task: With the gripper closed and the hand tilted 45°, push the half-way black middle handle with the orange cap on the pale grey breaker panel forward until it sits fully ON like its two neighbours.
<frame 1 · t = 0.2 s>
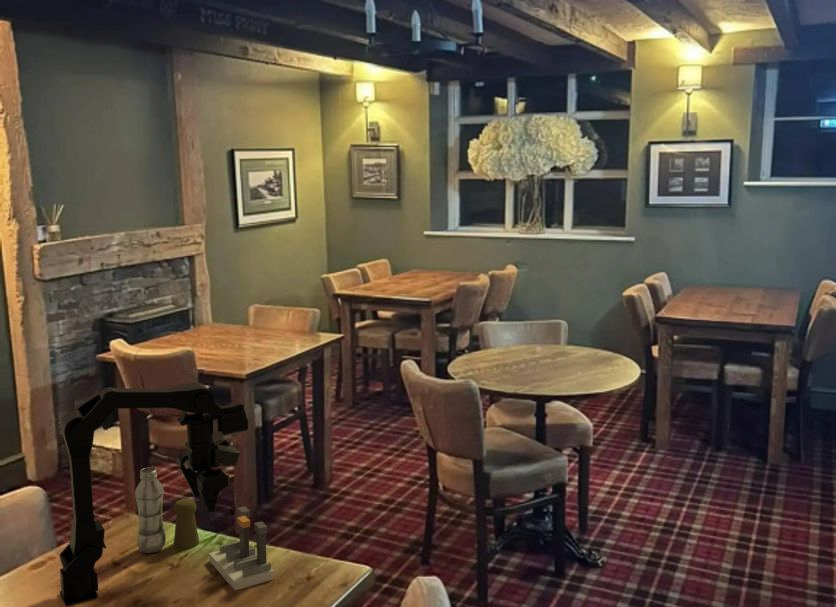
hand: (204, 504, 183), 14 cm above the table, tool pointing down, fingers open, 9 cm apart
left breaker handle: (244, 529, 187), point 7 cm above the table, slide at 4.0 cm
olive pepper mill: (186, 544, 195), on the table
right breaker handle: (261, 545, 178), point 7 cm above the table, slide at 4.0 cm
breaker panel: (240, 570, 182), on the table
tripped breaker handle: (244, 539, 181), point 7 cm above the table, slide at 2.0 cm
plastic bottle: (152, 550, 192), on the table
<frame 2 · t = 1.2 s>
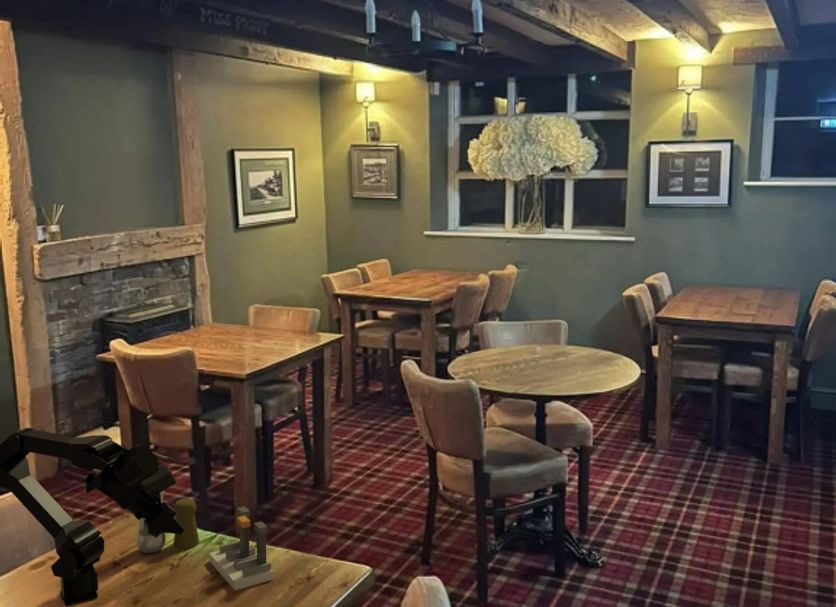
hand: (178, 527, 172), 14 cm above the table, tool tilted 45°, fingers open, 5 cm apart
nothing on the table moved.
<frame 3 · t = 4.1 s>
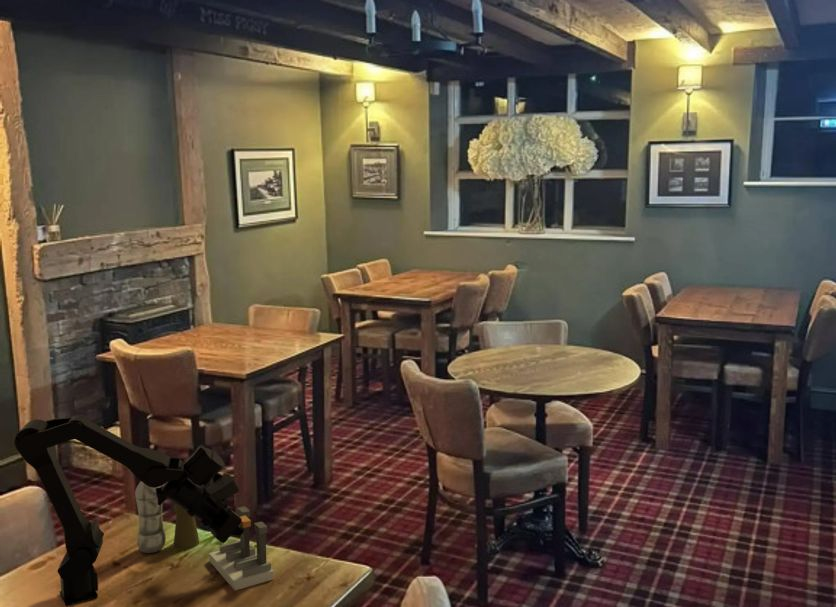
hand: (241, 533, 181), 9 cm above the table, tool tilted 45°, fingers closed, pressing on tripped breaker handle
tripped breaker handle: (244, 539, 182), point 7 cm above the table, slide at 2.2 cm, touching gripper
everything else where it was.
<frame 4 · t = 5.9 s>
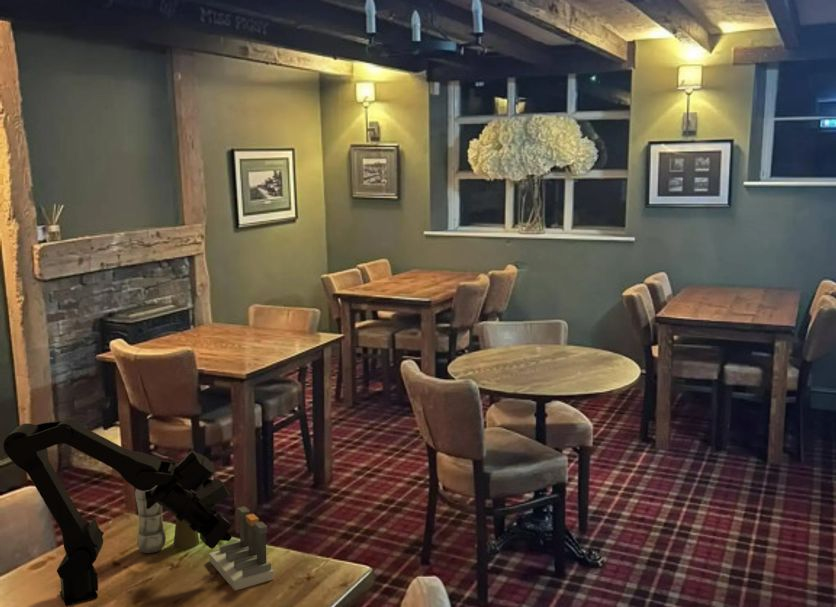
hand: (229, 538, 180), 8 cm above the table, tool tilted 45°, fingers closed
tripped breaker handle: (252, 537, 183), point 7 cm above the table, slide at 4.1 cm
everything else where it was.
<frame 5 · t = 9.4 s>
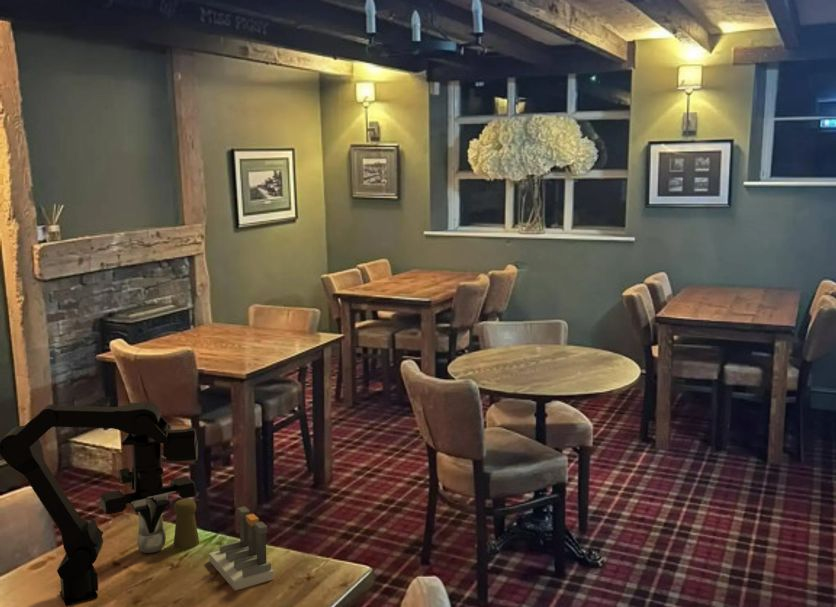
hand: (150, 532, 171), 13 cm above the table, tool pointing down, fingers closed
nothing on the table moved.
at the end: tripped breaker handle slide at 4.1 cm; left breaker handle slide at 4.0 cm; right breaker handle slide at 4.0 cm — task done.
